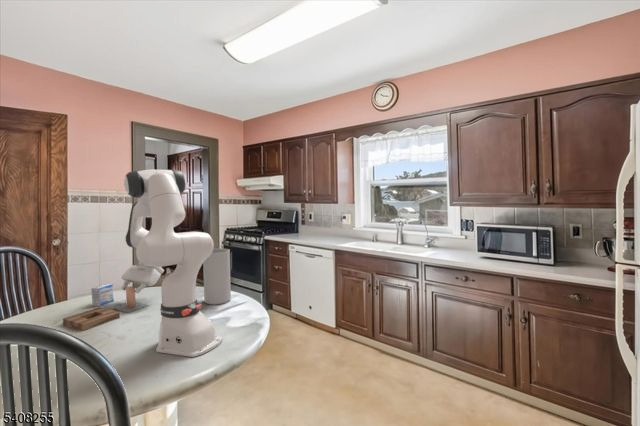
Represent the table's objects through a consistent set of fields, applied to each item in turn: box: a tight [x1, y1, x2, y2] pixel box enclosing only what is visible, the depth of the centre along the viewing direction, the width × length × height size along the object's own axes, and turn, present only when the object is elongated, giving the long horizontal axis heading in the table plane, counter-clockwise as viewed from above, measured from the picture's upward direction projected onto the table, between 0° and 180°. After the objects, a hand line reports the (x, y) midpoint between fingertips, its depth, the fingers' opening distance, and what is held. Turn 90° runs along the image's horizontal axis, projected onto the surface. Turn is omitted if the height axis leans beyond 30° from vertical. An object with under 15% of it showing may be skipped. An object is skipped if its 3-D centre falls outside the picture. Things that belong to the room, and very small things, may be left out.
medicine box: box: [91, 283, 115, 307], centre depth 152 cm, size 8×4×9 cm, turn 168°
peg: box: [125, 286, 137, 308], centre depth 146 cm, size 4×4×9 cm
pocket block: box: [62, 306, 120, 332], centre depth 131 cm, size 14×14×2 cm
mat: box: [113, 301, 149, 314], centre depth 146 cm, size 10×10×1 cm
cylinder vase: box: [202, 248, 232, 306], centre depth 154 cm, size 12×12×25 cm
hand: (129, 291), depth 145 cm, fingers open, 8 cm apart
